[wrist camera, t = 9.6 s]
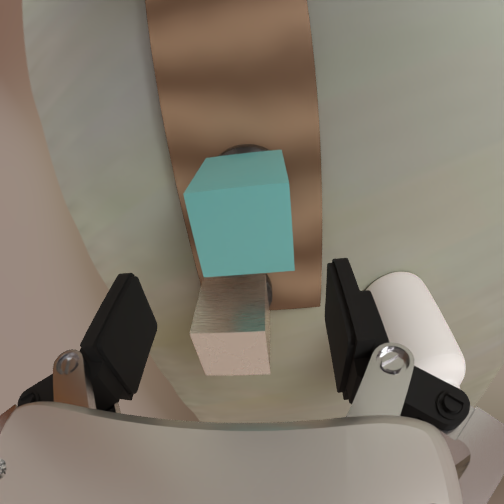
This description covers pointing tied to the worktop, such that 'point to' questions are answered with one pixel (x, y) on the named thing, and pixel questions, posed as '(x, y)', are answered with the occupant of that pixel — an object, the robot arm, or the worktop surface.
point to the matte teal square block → (242, 214)
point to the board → (245, 108)
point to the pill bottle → (418, 325)
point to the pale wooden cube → (233, 324)
